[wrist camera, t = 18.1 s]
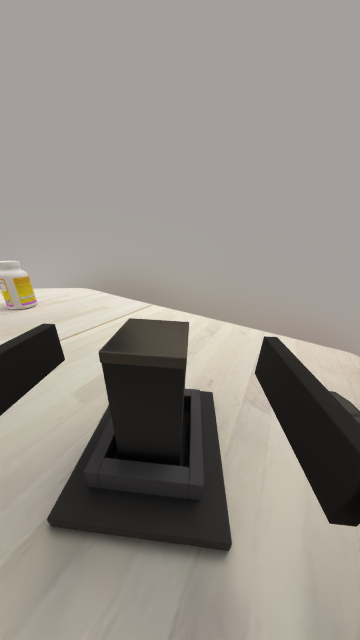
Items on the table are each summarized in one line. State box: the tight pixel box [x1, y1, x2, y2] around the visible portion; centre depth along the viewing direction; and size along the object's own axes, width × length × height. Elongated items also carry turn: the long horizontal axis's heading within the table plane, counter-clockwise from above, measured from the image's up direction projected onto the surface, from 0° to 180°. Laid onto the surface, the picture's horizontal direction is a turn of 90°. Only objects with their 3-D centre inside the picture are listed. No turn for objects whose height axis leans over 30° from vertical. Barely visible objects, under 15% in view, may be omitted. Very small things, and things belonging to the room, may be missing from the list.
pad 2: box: [47, 389, 232, 551], centre depth 16 cm, size 12×12×3 cm
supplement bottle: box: [0, 261, 37, 309], centre depth 48 cm, size 7×7×13 cm
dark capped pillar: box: [99, 319, 189, 466], centre depth 14 cm, size 5×5×11 cm
